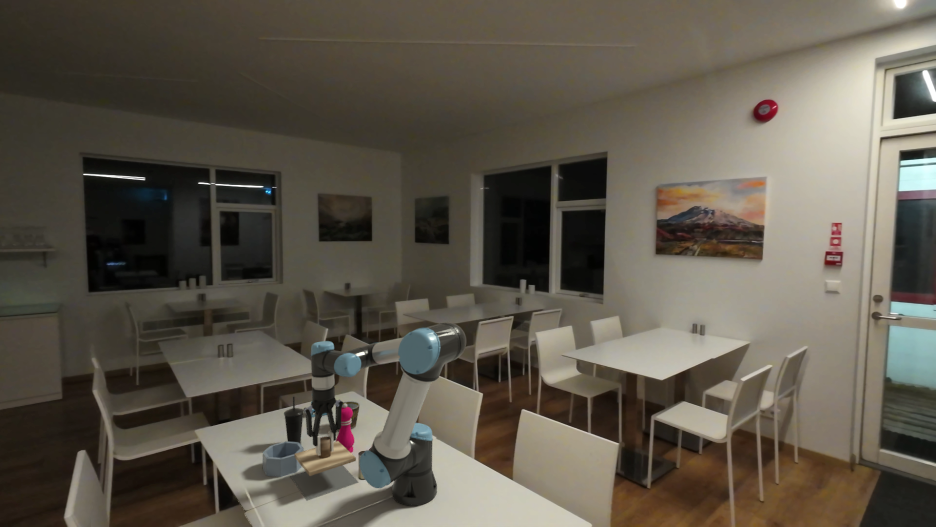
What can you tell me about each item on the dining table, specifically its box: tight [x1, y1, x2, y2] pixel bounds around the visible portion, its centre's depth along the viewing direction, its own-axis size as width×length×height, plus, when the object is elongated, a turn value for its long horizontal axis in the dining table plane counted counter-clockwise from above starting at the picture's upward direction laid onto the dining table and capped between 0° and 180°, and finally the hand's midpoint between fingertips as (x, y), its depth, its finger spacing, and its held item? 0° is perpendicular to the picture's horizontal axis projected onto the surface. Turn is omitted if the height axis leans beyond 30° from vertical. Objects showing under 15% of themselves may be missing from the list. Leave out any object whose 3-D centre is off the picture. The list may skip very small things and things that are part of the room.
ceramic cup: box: [342, 400, 360, 430], centre depth 200 cm, size 13×10×10 cm
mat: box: [289, 465, 359, 501], centre depth 159 cm, size 18×18×1 cm
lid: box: [294, 435, 357, 476], centre depth 157 cm, size 16×16×7 cm
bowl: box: [262, 440, 305, 478], centre depth 166 cm, size 13×13×7 cm
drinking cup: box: [283, 396, 305, 444], centre depth 185 cm, size 8×8×20 cm
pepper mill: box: [335, 403, 355, 454], centre depth 178 cm, size 7×7×20 cm
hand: (324, 451), depth 157 cm, fingers closed on lid, 4 cm apart
